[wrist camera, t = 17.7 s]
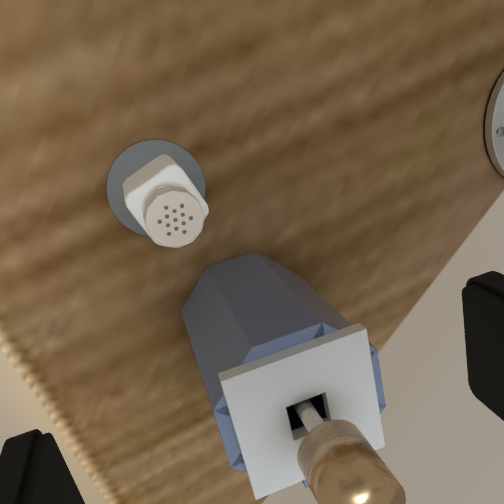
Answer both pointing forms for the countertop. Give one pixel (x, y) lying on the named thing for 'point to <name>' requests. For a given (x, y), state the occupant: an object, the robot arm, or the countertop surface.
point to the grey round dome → (134, 161)
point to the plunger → (343, 463)
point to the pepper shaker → (165, 202)
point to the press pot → (277, 365)
